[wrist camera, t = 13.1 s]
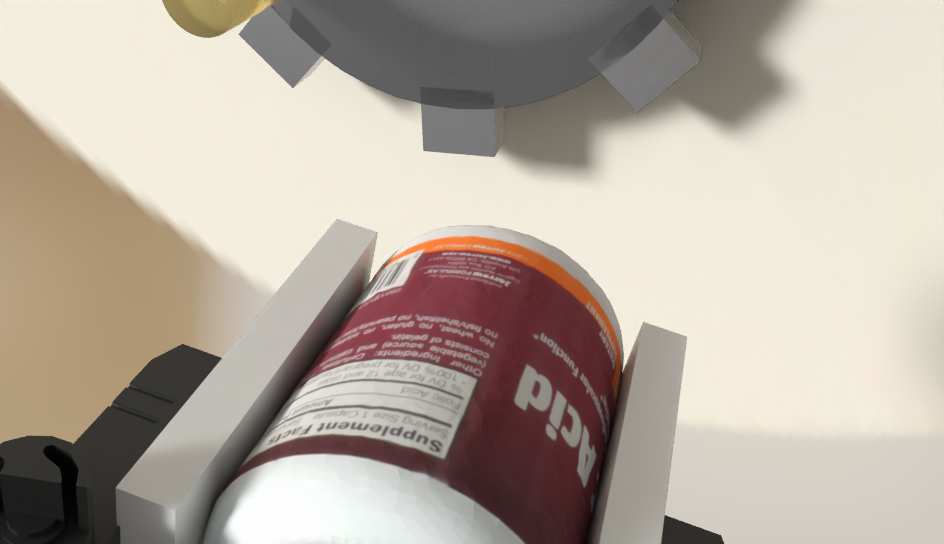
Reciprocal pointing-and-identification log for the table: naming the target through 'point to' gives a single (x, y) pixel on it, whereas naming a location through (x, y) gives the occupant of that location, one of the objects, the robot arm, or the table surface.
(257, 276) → the table surface
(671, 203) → the table surface
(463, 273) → the pill bottle
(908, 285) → the table surface
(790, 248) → the table surface
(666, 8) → the disc
